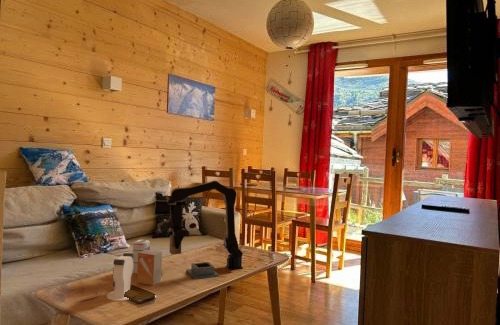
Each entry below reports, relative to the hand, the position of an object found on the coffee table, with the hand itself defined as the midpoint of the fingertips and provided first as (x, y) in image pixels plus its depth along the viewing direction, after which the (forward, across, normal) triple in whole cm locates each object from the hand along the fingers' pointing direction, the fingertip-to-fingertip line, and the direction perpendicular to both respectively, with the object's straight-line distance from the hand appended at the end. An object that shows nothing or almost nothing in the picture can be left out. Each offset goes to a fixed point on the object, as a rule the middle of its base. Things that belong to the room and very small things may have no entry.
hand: (175, 247), depth 173 cm
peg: (+2, 0, 0) cm, 2 cm away
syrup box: (+11, -3, -15) cm, 19 cm away
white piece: (+11, +23, -26) cm, 36 cm away
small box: (+11, +12, -14) cm, 22 cm away
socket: (+11, +9, +11) cm, 18 cm away
